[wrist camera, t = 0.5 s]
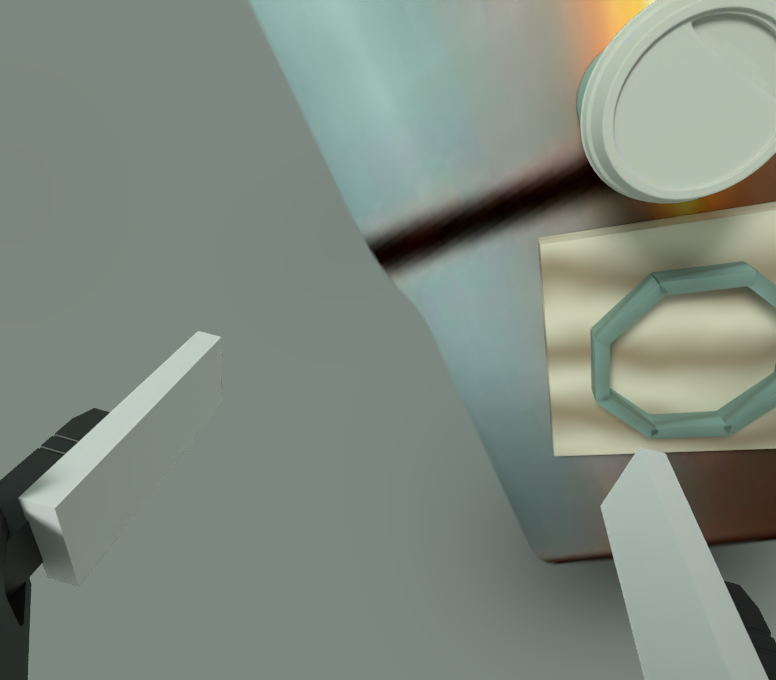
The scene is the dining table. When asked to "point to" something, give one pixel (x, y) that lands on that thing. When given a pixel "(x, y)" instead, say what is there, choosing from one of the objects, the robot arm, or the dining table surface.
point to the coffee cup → (682, 99)
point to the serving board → (662, 334)
